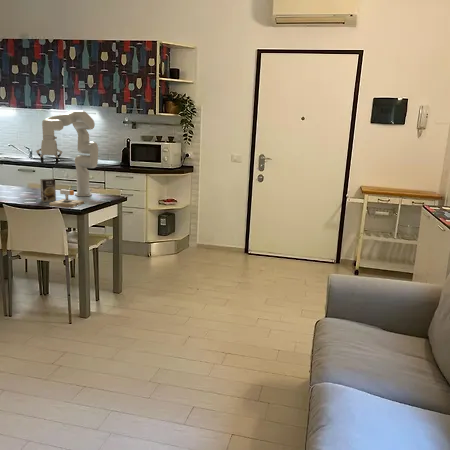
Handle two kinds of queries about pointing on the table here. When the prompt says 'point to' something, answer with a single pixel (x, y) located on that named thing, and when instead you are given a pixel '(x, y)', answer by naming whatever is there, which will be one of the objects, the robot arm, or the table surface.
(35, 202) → the table surface
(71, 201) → the key plate
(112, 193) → the table surface
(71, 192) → the t key
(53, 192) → the coffee box
